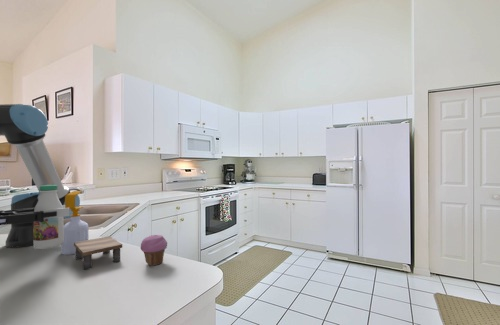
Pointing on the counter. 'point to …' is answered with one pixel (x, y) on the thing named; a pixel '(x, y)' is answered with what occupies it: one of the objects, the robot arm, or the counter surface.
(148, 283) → the counter surface
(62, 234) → the milk bottle
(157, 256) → the cupcake
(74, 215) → the soap bottle
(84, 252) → the pegged shelf
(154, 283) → the counter surface
